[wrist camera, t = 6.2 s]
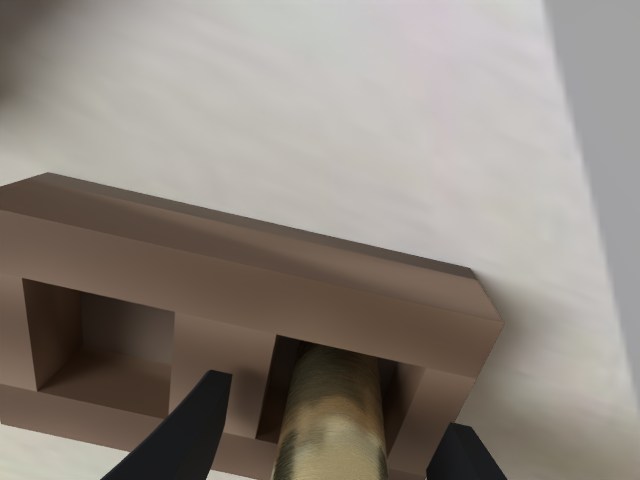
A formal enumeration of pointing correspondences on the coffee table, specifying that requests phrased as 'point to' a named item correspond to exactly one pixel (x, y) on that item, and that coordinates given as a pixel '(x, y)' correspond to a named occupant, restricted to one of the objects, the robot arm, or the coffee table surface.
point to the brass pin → (332, 418)
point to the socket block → (217, 321)
